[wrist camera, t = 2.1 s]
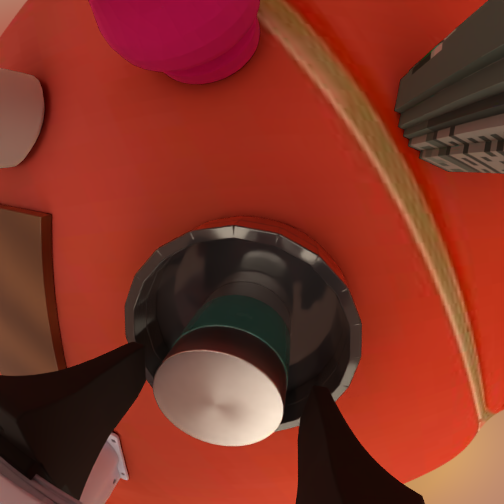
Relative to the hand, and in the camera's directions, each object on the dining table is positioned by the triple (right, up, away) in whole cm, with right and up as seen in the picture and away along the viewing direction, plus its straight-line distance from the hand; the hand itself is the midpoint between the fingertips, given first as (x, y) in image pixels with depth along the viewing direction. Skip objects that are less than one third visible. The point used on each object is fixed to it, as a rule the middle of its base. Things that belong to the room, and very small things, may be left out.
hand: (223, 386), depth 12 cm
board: (-21, 0, +10) cm, 23 cm away
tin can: (+1, +1, +6) cm, 6 cm away
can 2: (+12, +13, +2) cm, 18 cm away
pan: (+1, +2, +6) cm, 6 cm away
